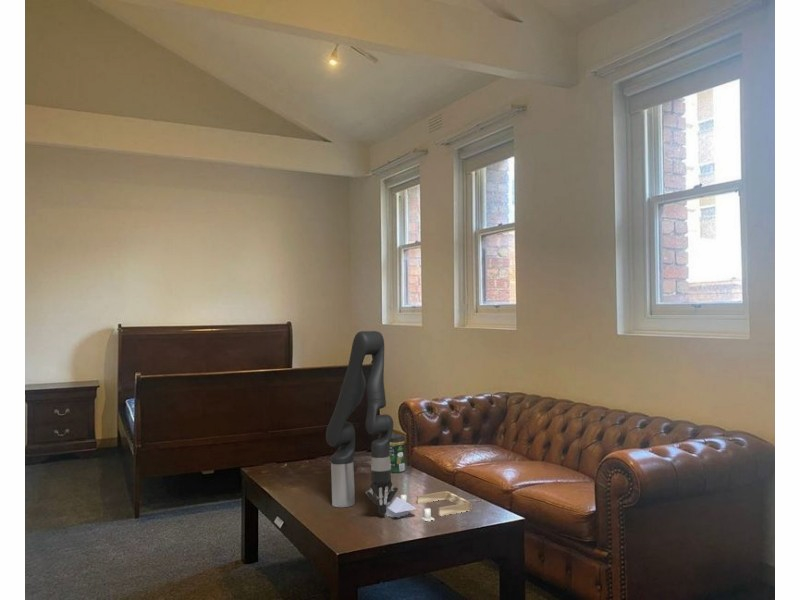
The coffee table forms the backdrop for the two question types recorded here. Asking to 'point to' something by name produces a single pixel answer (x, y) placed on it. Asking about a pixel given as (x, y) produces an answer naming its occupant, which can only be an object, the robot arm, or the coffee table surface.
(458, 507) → the frame
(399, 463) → the coffee jar
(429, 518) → the clip gate
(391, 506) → the wedge on round base
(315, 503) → the coffee table surface
